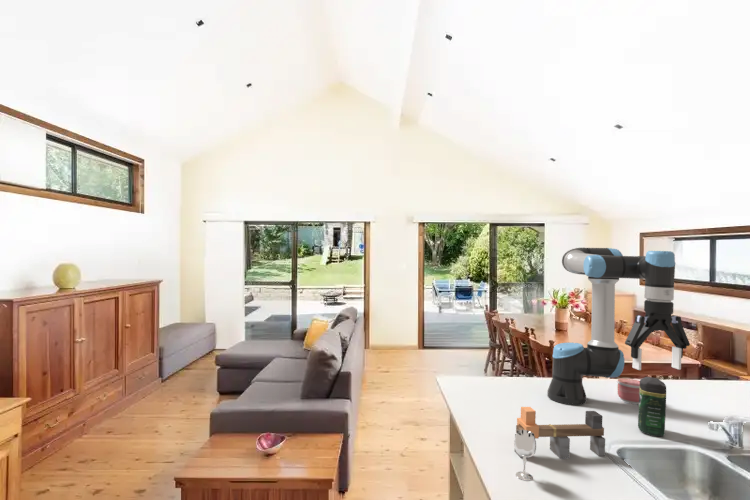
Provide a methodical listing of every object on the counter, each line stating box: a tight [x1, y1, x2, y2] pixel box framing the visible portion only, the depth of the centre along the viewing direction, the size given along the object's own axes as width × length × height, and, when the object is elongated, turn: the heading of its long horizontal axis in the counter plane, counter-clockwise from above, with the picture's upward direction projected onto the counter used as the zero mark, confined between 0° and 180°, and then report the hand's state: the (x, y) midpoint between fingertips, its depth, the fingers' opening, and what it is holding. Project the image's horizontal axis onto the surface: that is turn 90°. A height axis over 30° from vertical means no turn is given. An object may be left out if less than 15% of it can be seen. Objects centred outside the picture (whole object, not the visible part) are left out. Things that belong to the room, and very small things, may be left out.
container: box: [616, 377, 640, 405], centre depth 179 cm, size 10×10×8 cm
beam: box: [514, 410, 606, 459], centre depth 131 cm, size 6×27×12 cm, turn 96°
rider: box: [516, 406, 540, 440], centre depth 129 cm, size 6×4×8 cm, turn 6°
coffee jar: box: [637, 376, 667, 437], centre depth 149 cm, size 10×8×19 cm
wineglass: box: [513, 430, 537, 482], centre depth 117 cm, size 6×6×12 cm
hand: (656, 368), depth 131 cm, fingers open, 13 cm apart
